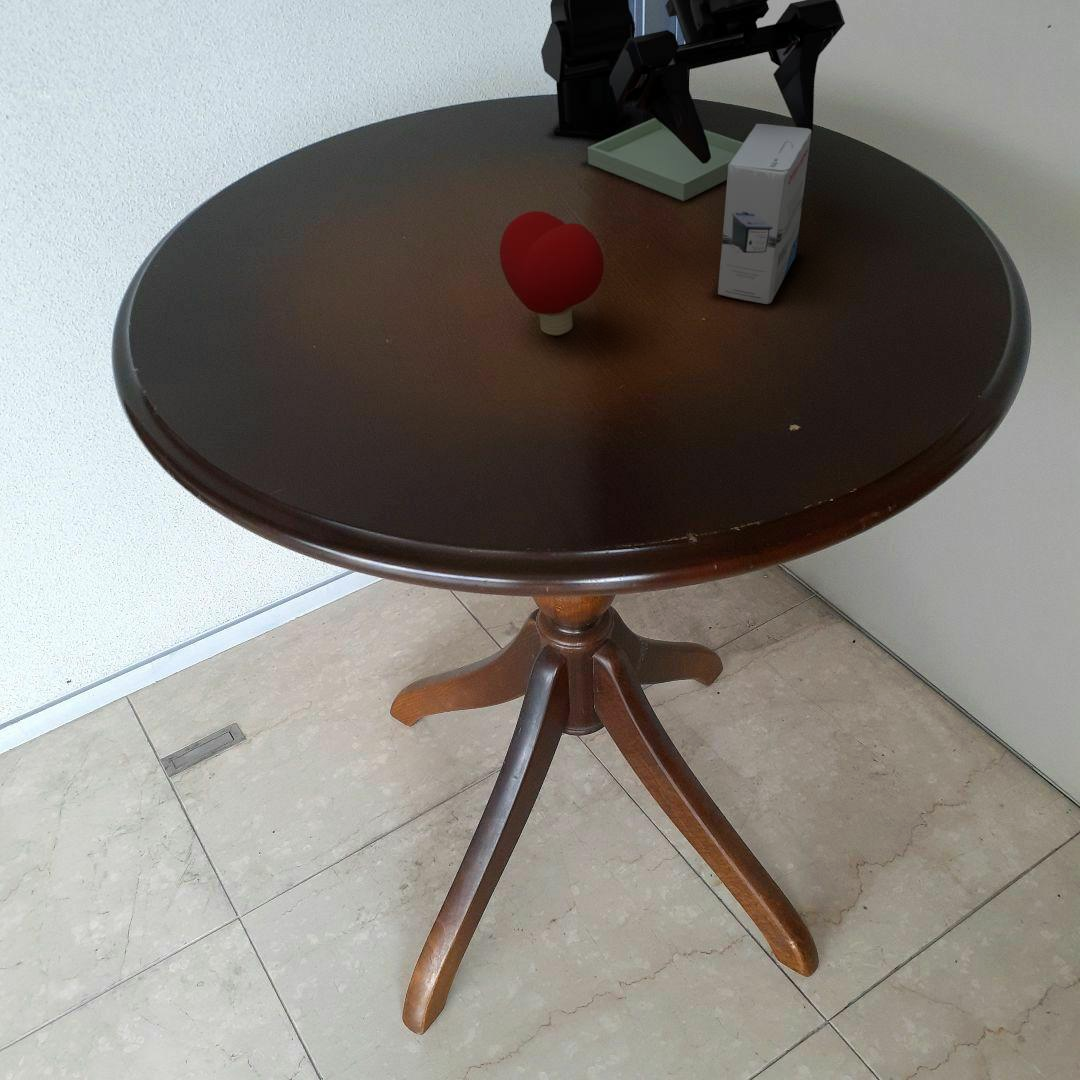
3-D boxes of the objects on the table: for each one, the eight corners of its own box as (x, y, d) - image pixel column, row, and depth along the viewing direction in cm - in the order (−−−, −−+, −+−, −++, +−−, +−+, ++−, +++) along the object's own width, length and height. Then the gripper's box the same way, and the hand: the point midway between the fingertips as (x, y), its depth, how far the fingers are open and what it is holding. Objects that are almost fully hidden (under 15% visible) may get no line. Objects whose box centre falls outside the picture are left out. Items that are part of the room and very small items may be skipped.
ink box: (745, 249, 93) (754, 120, 85) (800, 257, 92) (814, 126, 83) (716, 297, 88) (723, 163, 80) (774, 306, 86) (787, 171, 78)
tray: (588, 163, 110) (587, 147, 108) (660, 131, 114) (660, 114, 113) (683, 201, 101) (683, 184, 100) (757, 164, 106) (758, 147, 105)
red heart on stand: (488, 335, 86) (473, 224, 80) (544, 300, 90) (535, 190, 83) (571, 372, 81) (562, 257, 75) (627, 333, 85) (624, 220, 78)
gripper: (620, -78, 74) (687, 126, 74) (846, -121, 78) (910, 73, 77) (584, 12, 85) (642, 190, 85) (784, -30, 89) (840, 141, 88)
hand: (758, 148), depth 83 cm, fingers open, 9 cm apart
